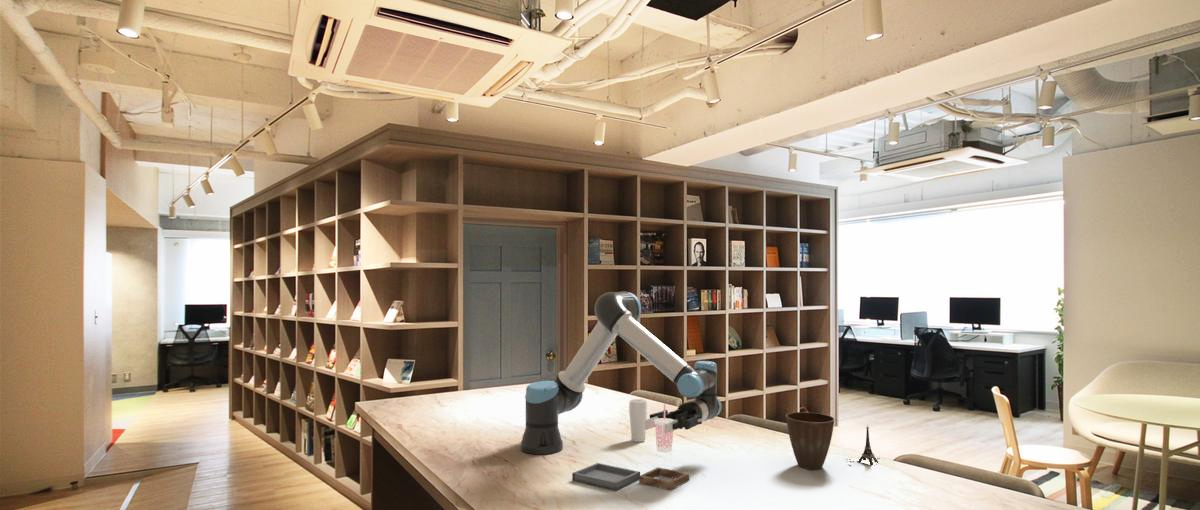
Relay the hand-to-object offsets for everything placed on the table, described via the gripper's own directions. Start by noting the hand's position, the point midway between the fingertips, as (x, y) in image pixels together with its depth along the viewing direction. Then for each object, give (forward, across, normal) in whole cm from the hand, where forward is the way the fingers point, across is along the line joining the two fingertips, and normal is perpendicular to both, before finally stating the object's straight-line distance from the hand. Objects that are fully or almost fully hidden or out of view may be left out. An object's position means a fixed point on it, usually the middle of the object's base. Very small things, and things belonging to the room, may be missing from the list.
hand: (655, 426), depth 183 cm
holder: (-5, 0, -17) cm, 18 cm away
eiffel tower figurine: (-62, -45, -17) cm, 79 cm away
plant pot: (-46, -31, -17) cm, 58 cm away
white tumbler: (-41, +32, -18) cm, 55 cm away
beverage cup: (-5, 0, -8) cm, 10 cm away
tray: (+4, +15, -18) cm, 23 cm away
